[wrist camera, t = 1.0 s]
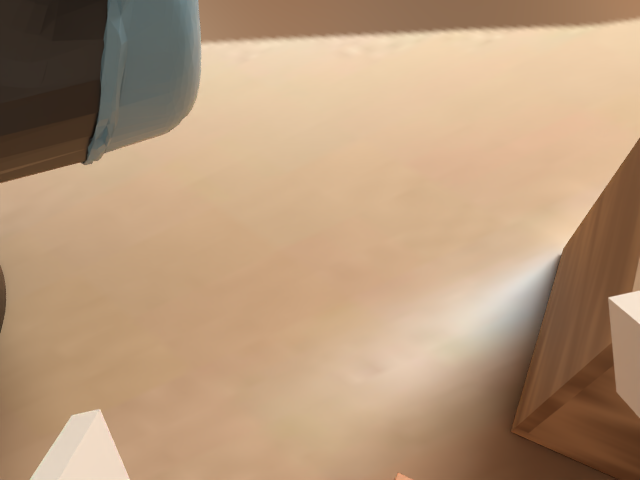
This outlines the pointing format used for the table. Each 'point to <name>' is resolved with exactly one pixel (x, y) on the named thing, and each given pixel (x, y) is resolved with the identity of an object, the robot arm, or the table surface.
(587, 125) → the table surface
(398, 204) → the table surface
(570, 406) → the tip box
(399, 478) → the tall salmon pillar block
